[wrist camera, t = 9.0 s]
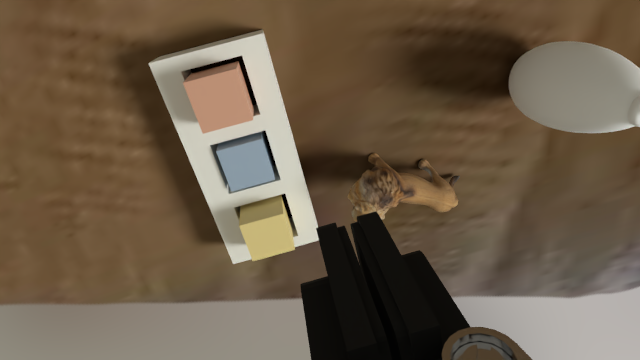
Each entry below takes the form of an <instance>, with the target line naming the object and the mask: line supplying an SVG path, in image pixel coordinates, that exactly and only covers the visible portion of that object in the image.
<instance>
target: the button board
mask: <svg viewBox="0 0 640 360" xmlns="http://www.w3.org/2000/svg"><path fill="white" fill-rule="evenodd" d="M238 56H242V57H243V60H244V64H245V67H246V70H247V73H248V76H249V80H250V83H251V86H252V89H253V92H254V96H255V99H256V102H257V105H253V108H254V110H253V120H252V121H248V122H244V123H241V124H237V125H233V126H230V127H226V128H222V129H219V130H215V131H211V132H207V133H204V134H203V133H202V130H201V128H200V125H199V123H198V120H197V118H196V115H195V113H194V110H193V108H192V105H191V102H190V100H189V97H188V95H187V92H186V90H185V87H184V85H183V82H184V81H185V80H186V79H187V77H188V76H189V75H190V74H192V73H191V70H190V69H193V68H197V67H200V66H204V65H208V64H212V63H215V62H219V61H223V60H227V59H231V58H234V57H238ZM148 64H149V66H150V69H151V71H152V73H153V76H154V78H155V80H156V83H157V85H158V87H159V90H160V92H161V95H162V97H163V99H164V102H165V104H166V106H167V109H168V111H169V113H170V116H171V118H172V121H173V123H174V125H175V128H176V130H177V132H178V135H179V137H180V139H181V142H182V144H183V146H184V149H185V151H186V154H187V156H188V158H189V161H190V163H191V165H192V168H193V170H194V172H195V175H196V177H197V179H198V182H199V184H200V187H201V189H202V191H203V194H204V196H205V198H206V201H207V203H208V205H209V208H210V210H211V213H212V215H213V217H214V220H215V222H216V224H217V227H218V229H219V231H220V234H221V236H222V238H223V241H224V243H225V246H226V248H227V250H228V253H229V255H230V257H231V260H232V262H233V264H236V263H239V262H243V261H247V260H250V259H252V258H251V255H250V253H249V250H248V248H247V245H246V242H245V240H244V237H243V235H242V232H241V230H240V227H239V219H240V207H241V206H242V205H245V204H249V203H252V202H256V201H260V200H263V199H267V198H270V197H274V196H278V195H281V194H285V195H286V198H287V201H288V204H289V208H290V211H291V214H292V217H293V218H289V221H290V224H291V227H292V232H293V239H294V246H295V247H296V246H300V245H304V244H307V243H311V242H314V241H318V240H319V238H318V234H317V230H316V228H318V225H317V221H316V217H315V214H314V210H313V207H312V203H311V200H310V196H309V192H308V189H307V185H306V182H305V178H304V175H303V171H302V167H301V164H300V160H299V157H298V153H297V150H296V146H295V143H294V139H293V135H292V132H291V128H290V125H289V121H288V118H287V114H286V110H285V107H284V103H283V100H282V96H281V93H280V89H279V85H278V82H277V78H276V75H275V71H274V68H273V64H272V60H271V57H270V53H269V50H268V46H267V43H266V39H265V35H264V32H263V29H262V30H258V31H255V32H251V33H247V34H243V35H239V36H236V37H232V38H228V39H224V40H220V41H217V42H213V43H209V44H205V45H201V46H198V47H194V48H190V49H186V50H182V51H179V52H175V53H171V54H167V55H163V56H160V57H158V58H156V59H154V60H153V61H151V62H150V63H148ZM261 131H266V134H267V137H268V140H269V144H270V147H271V150H272V153H273V156H274V160H275V163H276V165H275V166H274V175H275V180H272V181H269V182H265V183H261V184H258V185H254V186H251V187H247V188H243V189H240V190H236V191H232V192H231V189H230V186H229V184H228V181H227V179H226V176H225V173H224V171H223V168H222V166H221V163H220V160H219V158H218V155H217V153H216V150H217V146H218V143H221V142H224V141H228V140H232V139H235V138H239V137H243V136H247V135H250V134H254V133H258V132H261Z"/></svg>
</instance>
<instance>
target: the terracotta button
mask: <svg viewBox="0 0 640 360" xmlns="http://www.w3.org/2000/svg"><path fill="white" fill-rule="evenodd" d="M183 85H184V87H185V90H186V92H187V95H188V97H189V100H190V102H191V105H192V108H193V110H194V113H195V115H196V118H197V120H198V123H199V125H200V128H201V130H202V133H203V134H204V133H207V132H211V131H215V130H219V129H222V128H226V127H230V126H233V125H237V124H241V123H244V122H248V121H252V120H253V110H254V108H253V105H252V101H251V98H250V95H249V92H248V89H247V86H246V83H245V79H244V76H243V73H242V70H241V67H240V64H239V61H237V62H233V63H229V64H226V65H222V66H218V67H214V68H210V69H207V70H203V71H199V72H195V73H192V74H190V75H189V76H188V77H187V79H186V80H185V81H184V82H183Z"/></svg>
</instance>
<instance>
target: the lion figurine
mask: <svg viewBox="0 0 640 360" xmlns="http://www.w3.org/2000/svg"><path fill="white" fill-rule="evenodd" d="M369 162H371V163H373V165H375V167H373V168H372V170H366V172H365V173H362V177H361V178H360V179H359V180H358V181H356V183H354V185H353V186H352V187H351V190H350V192H349V195H348V199H350V201H351V202H352V204H353V205H354V210H353V211H352V216H353V218H354V220H355V221H356V222H357V216H361V215H364V214H368V213H371V212H375V211H377V213H378V214H379V216H380V218H381V219H384V218H385V215H384V214H385V213H386V212H387V211H388V210H389V209H390V208H391V207H396V206H397V205H398V204H399V202H404V203H411V204H423V205H427V206H429V207H431V208H432V209H433V210H435V211H438V212H446V211H449V210H450V209H451V208H453V207H455V206H456V205H457V204H458V199H457V197H456V195H455V192H454V189H453V186H454V183H455V182H456V181H457V180H458V179H459V177H460V176H453V177H452V178H451V180H450V182H449V183H448V182H447V181H445V180H444V179H443V178H441V177H440V176H439V175H438V173H437V171H436V170H434V169H433V168H432V167H431V165H430V164H429V162H428V161H427V160H425V159H422V160H420V162H419V164H418V166H419V168H421V169H423V170H425V171H427V172H428V173H429V174H430V175H431V178H432V182H429V181H427V180H425V179H423V178H421V177H419V176H417V175H413V174H409V173H397V172H396V171H395V170H394V169H392V168H391V167H390V166H389V165H387V164H386V163H385V162H384V161H383V160H382V159H381V158H380V156H379V155H378V154H376V153H373V154H371V155H370V156H369Z"/></svg>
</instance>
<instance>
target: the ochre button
mask: <svg viewBox="0 0 640 360" xmlns="http://www.w3.org/2000/svg"><path fill="white" fill-rule="evenodd" d="M239 227H240V230H241V232H242V235H243V237H244V240H245V242H246V245H247V248H248V250H249V253H250V255H251V258H252V260H253V261H256V260H260V259H263V258H267V257H270V256H274V255H277V254H281V253H284V252H288V251H292V250H295V246H294V239H293V232H292V227H291V224H290V221H289V218H288V214H287V211H286V208H285V205H284V202H283V199H282V196H281V195H278V196H274V197H270V198H267V199H263V200H260V201H256V202H252V203H249V204H245V205H242V206H241V207H240V219H239Z"/></svg>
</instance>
